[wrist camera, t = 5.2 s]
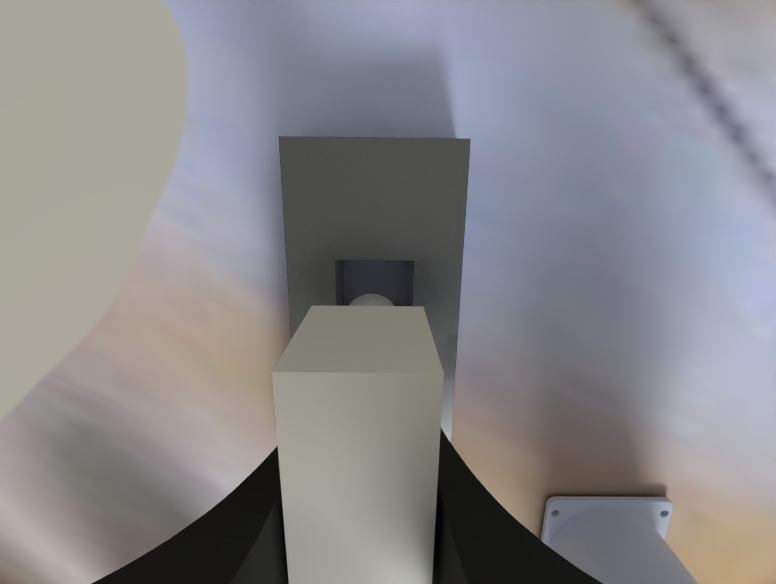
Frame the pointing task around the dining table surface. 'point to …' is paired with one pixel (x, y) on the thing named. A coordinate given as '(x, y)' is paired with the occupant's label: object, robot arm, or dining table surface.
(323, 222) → the grey flat block
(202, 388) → the dining table surface
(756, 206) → the dining table surface
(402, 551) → the cream slab block
